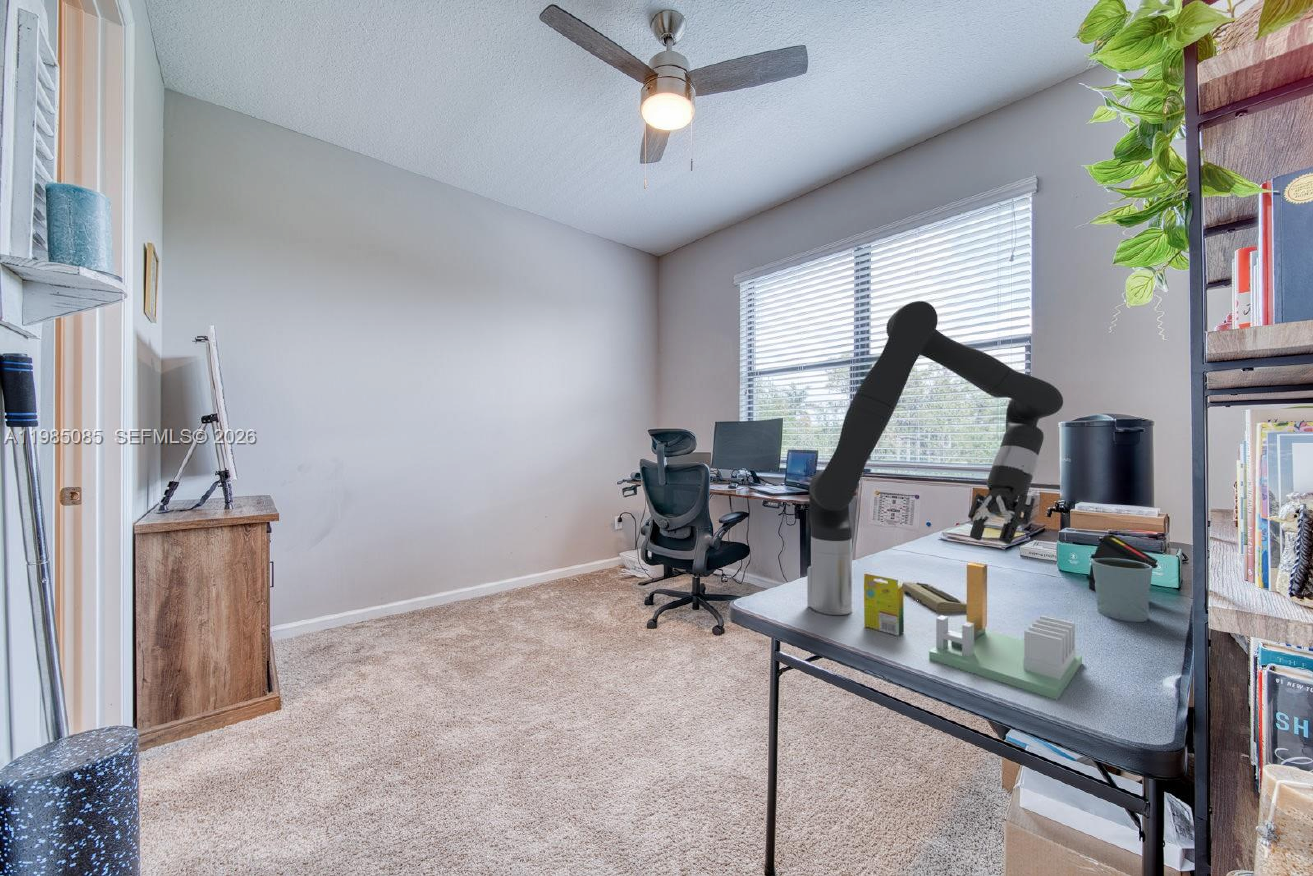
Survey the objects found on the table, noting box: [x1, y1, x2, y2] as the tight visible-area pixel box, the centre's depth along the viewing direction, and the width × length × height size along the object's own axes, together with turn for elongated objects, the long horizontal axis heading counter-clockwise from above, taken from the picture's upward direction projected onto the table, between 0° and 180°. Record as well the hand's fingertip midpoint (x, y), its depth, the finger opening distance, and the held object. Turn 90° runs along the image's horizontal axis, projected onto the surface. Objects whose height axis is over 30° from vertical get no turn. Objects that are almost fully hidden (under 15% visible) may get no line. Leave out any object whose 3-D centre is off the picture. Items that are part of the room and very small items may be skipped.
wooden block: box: [951, 561, 988, 649], centre depth 99 cm, size 3×12×14 cm, turn 131°
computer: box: [901, 581, 967, 614], centre depth 125 cm, size 16×8×3 cm, turn 3°
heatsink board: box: [928, 614, 1083, 701], centre depth 93 cm, size 19×19×8 cm
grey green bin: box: [1091, 558, 1154, 623], centre depth 115 cm, size 10×10×12 cm
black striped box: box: [1086, 534, 1159, 591], centre depth 129 cm, size 4×13×15 cm, turn 19°
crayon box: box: [863, 573, 905, 637], centre depth 107 cm, size 7×3×12 cm, turn 43°
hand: (989, 540), depth 107 cm, fingers open, 8 cm apart
